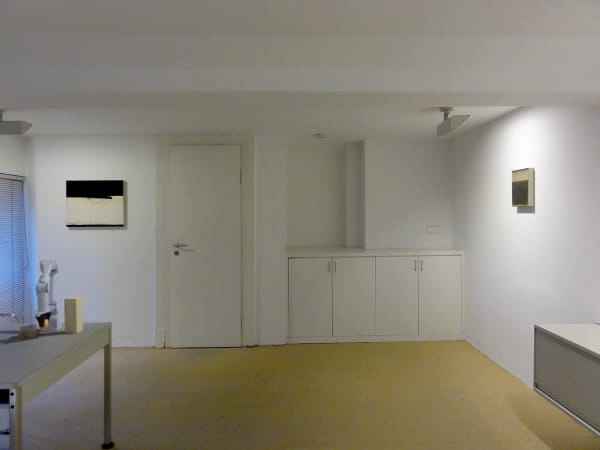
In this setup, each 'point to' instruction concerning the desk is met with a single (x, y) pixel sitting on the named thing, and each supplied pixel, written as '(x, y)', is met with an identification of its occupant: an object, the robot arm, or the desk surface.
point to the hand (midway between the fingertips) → (44, 326)
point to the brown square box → (29, 334)
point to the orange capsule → (45, 325)
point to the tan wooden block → (73, 314)
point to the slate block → (28, 328)
